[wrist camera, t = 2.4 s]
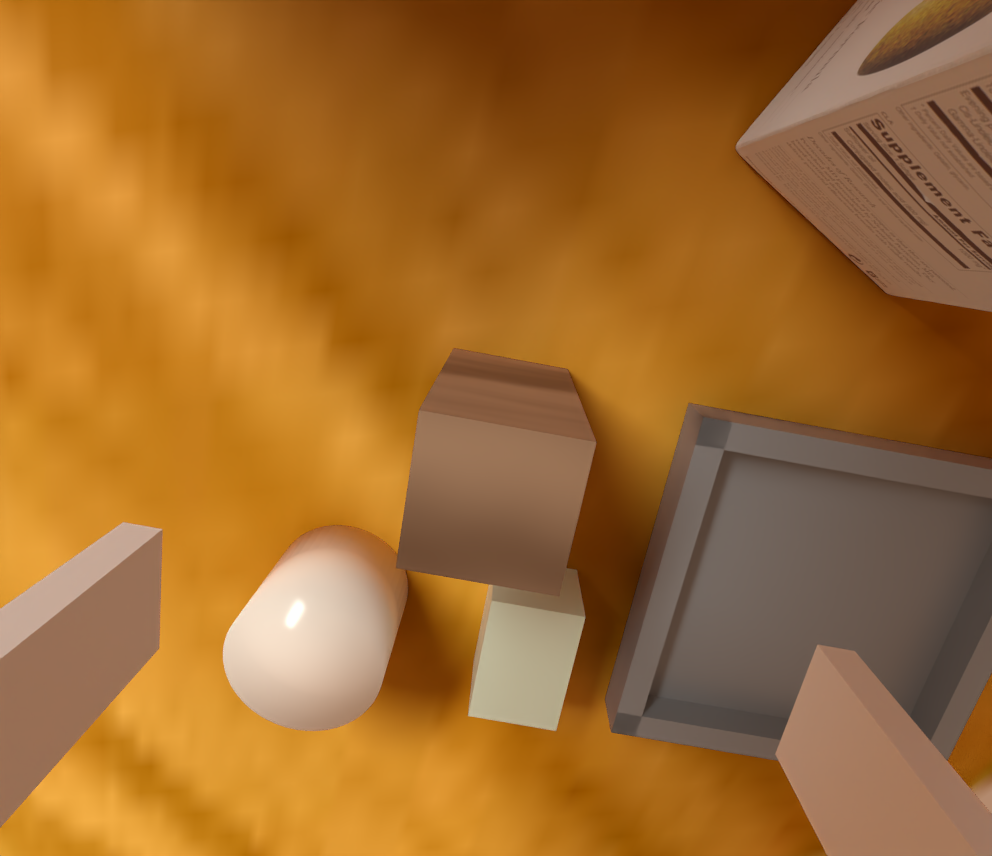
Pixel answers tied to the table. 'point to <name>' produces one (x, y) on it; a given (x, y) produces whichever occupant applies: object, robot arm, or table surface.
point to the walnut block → (497, 474)
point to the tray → (805, 581)
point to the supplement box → (893, 146)
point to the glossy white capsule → (319, 630)
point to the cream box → (526, 654)
